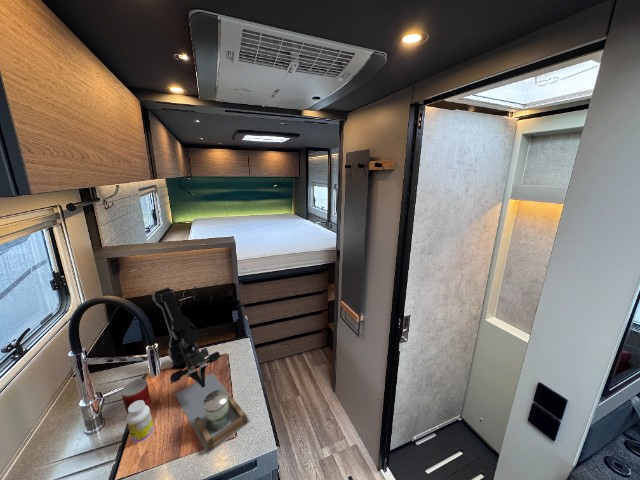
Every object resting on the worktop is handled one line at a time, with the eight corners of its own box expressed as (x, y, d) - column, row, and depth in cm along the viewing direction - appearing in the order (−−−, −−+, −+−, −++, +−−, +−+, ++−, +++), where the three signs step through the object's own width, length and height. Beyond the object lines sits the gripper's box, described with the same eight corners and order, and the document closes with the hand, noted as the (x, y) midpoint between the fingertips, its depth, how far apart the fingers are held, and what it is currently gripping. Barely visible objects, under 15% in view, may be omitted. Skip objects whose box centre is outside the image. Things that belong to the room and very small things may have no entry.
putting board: (174, 395, 105) (174, 394, 105) (212, 373, 116) (212, 373, 116) (207, 455, 83) (207, 454, 82) (250, 422, 94) (250, 421, 94)
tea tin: (202, 431, 90) (199, 409, 87) (212, 410, 98) (209, 389, 95) (225, 431, 90) (222, 409, 87) (233, 410, 98) (231, 389, 95)
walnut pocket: (195, 425, 92) (194, 419, 91) (231, 401, 102) (230, 395, 101) (209, 451, 84) (208, 444, 83) (247, 422, 93) (247, 415, 92)
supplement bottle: (129, 434, 89) (122, 406, 86) (151, 421, 94) (144, 394, 91) (134, 448, 85) (126, 418, 82) (156, 433, 90) (150, 405, 86)
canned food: (156, 401, 103) (151, 378, 100) (140, 419, 95) (135, 396, 92) (138, 399, 103) (133, 377, 100) (122, 417, 96) (115, 394, 93)
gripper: (167, 357, 94) (181, 399, 89) (216, 335, 107) (231, 370, 102) (164, 364, 101) (177, 402, 97) (210, 342, 114) (224, 375, 109)
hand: (203, 387), depth 101 cm, fingers closed
